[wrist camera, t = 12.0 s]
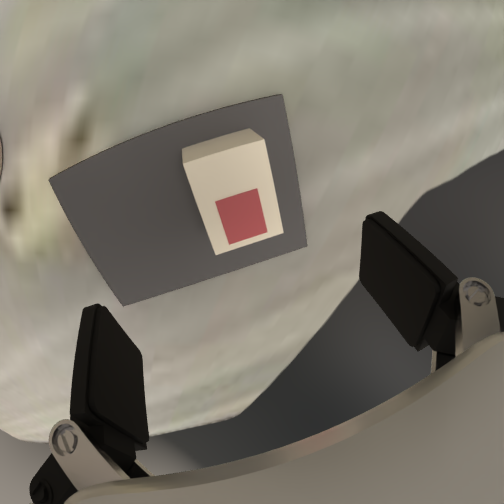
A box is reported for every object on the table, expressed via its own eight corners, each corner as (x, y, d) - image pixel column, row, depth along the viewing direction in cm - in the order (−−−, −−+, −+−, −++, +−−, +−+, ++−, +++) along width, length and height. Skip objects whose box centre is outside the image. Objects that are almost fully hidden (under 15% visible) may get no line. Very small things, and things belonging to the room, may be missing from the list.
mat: (123, 303, 34) (123, 306, 33) (50, 177, 23) (48, 179, 22) (305, 243, 35) (307, 246, 35) (280, 94, 24) (282, 94, 24)
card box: (181, 148, 25) (182, 164, 21) (249, 128, 25) (264, 139, 21) (209, 228, 30) (215, 256, 26) (268, 209, 31) (283, 233, 26)
